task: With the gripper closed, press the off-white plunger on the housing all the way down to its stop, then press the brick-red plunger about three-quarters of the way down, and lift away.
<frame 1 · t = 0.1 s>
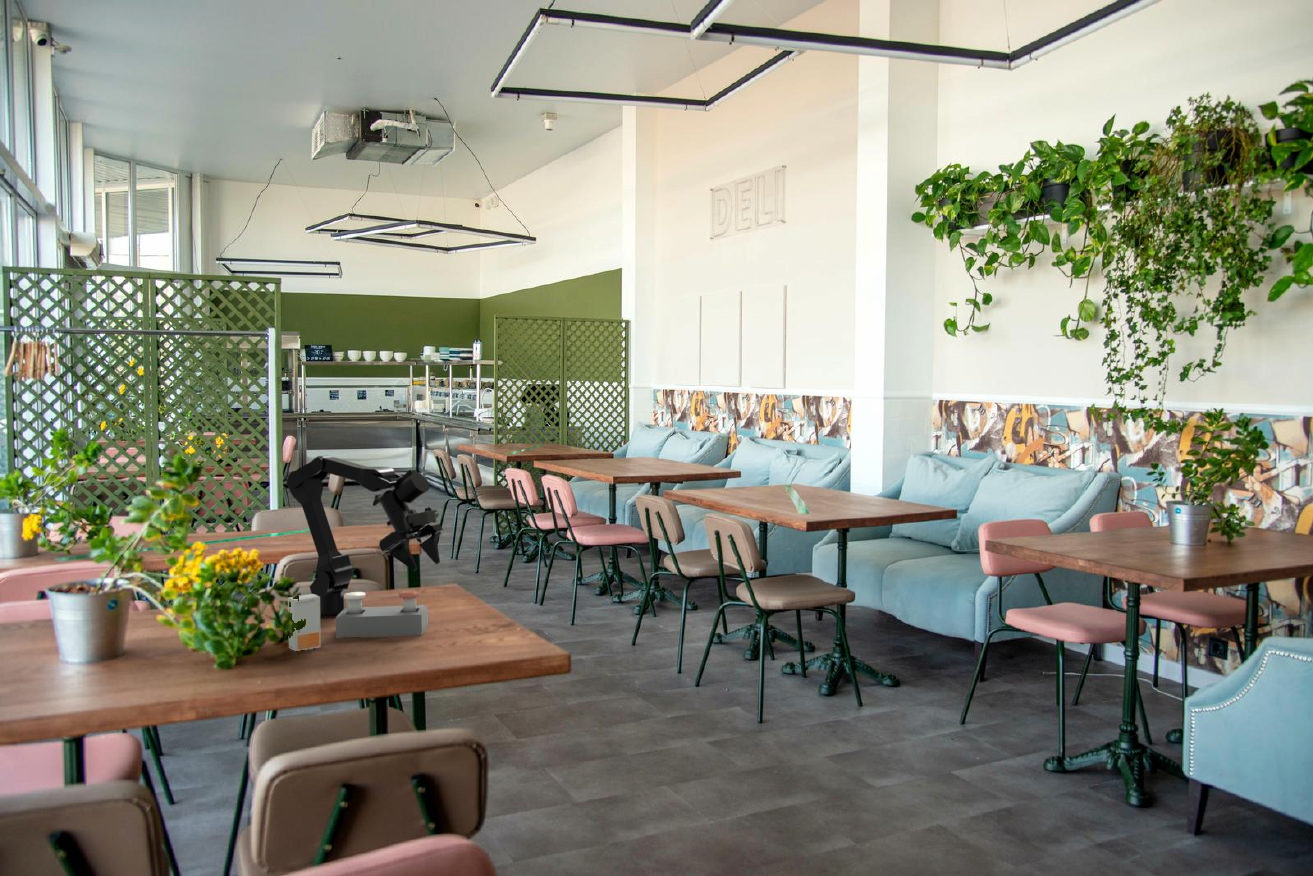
hand: (427, 566, 236), 15 cm above the table, tool tilted 30°, fingers open, 9 cm apart
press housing: (383, 631, 232), on the table
skincare box: (305, 649, 218), on the table
white plunger: (355, 604, 231), point 7 cm above the table, slide at 0.0 cm
red plunger: (409, 602, 233), point 7 cm above the table, slide at 0.0 cm
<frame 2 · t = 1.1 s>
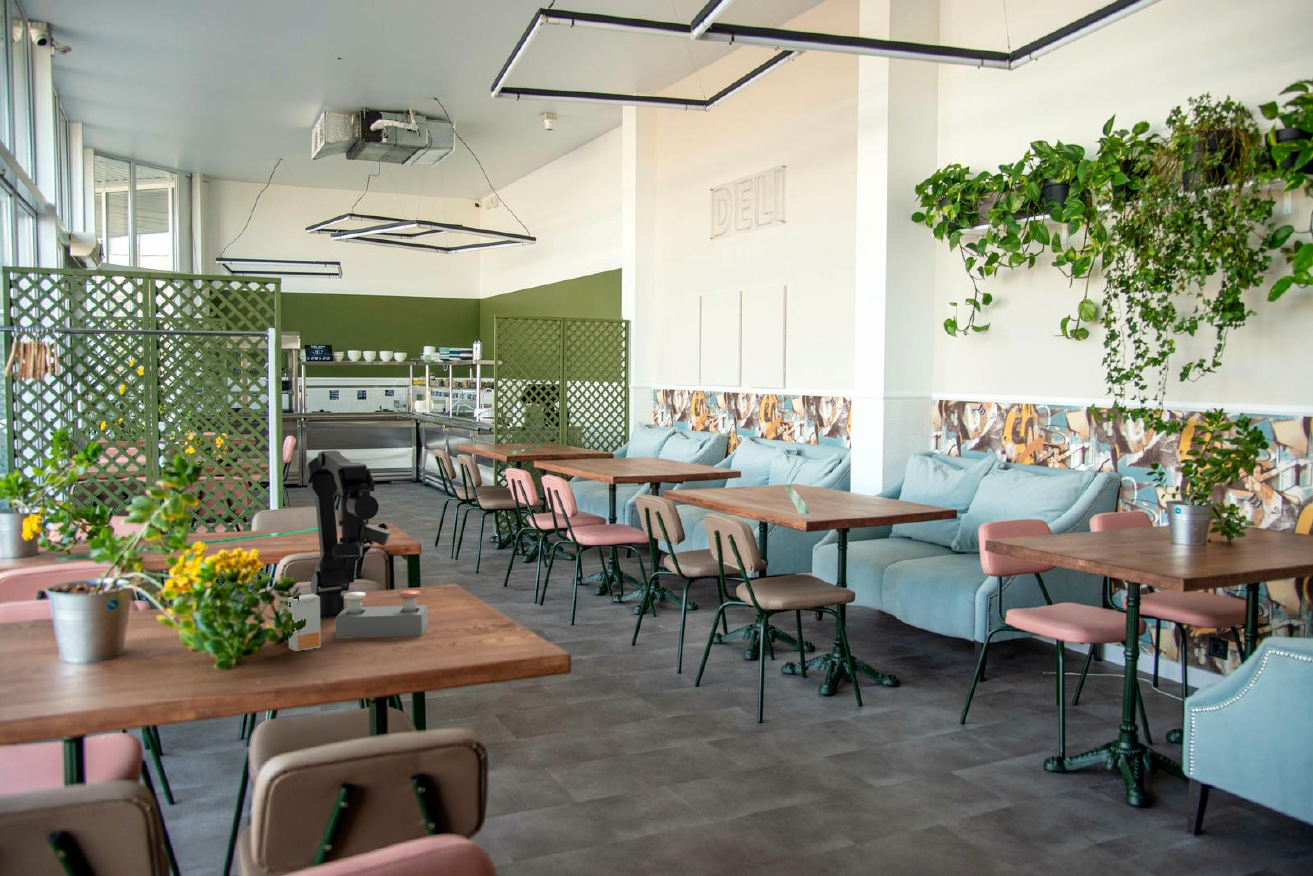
hand: (355, 579, 231), 13 cm above the table, tool pointing down, fingers open, 8 cm apart
nothing on the table moved.
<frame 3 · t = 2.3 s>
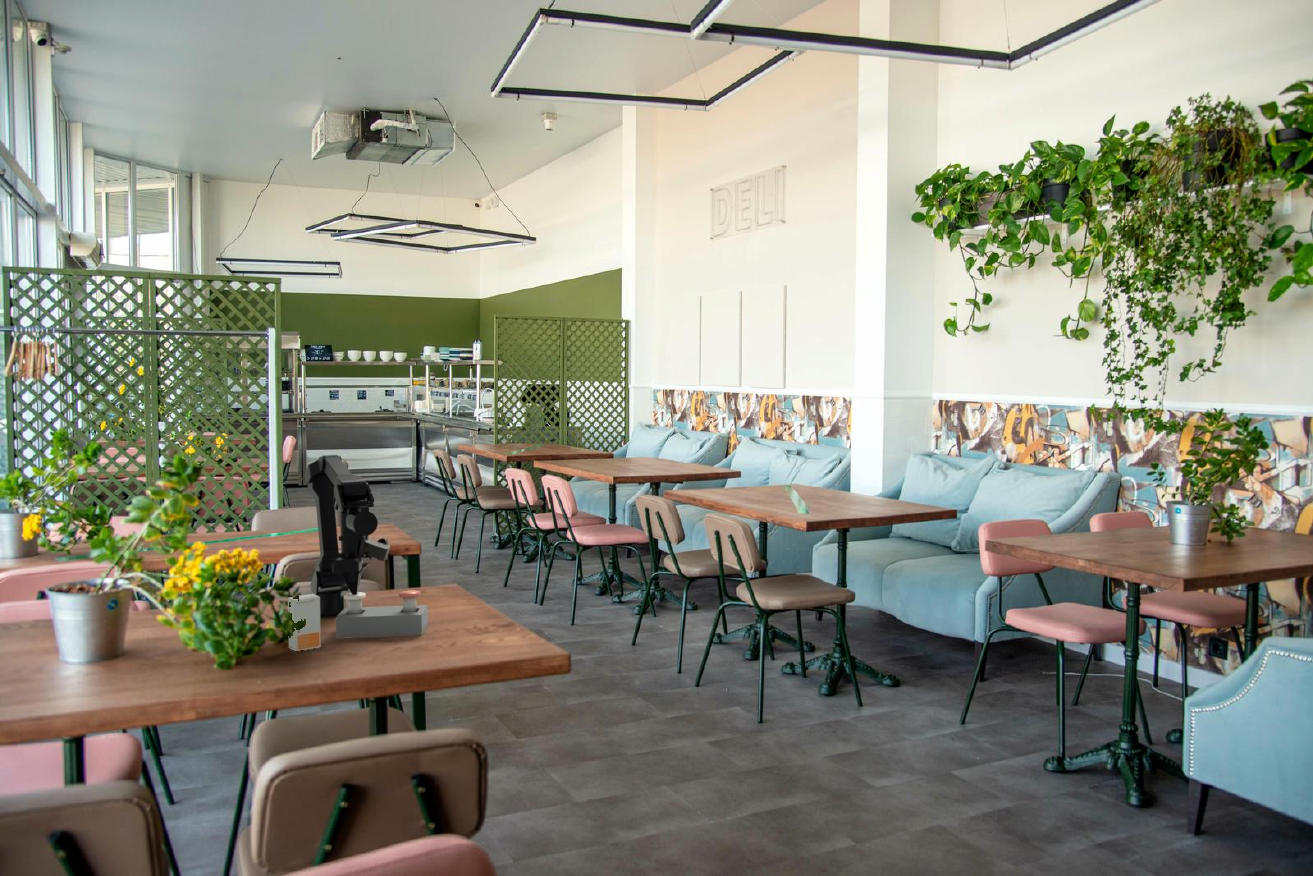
hand: (354, 594, 231), 9 cm above the table, tool pointing down, fingers closed, pressing on white plunger
white plunger: (355, 604, 231), point 7 cm above the table, slide at 0.1 cm, touching gripper
everything else where it was.
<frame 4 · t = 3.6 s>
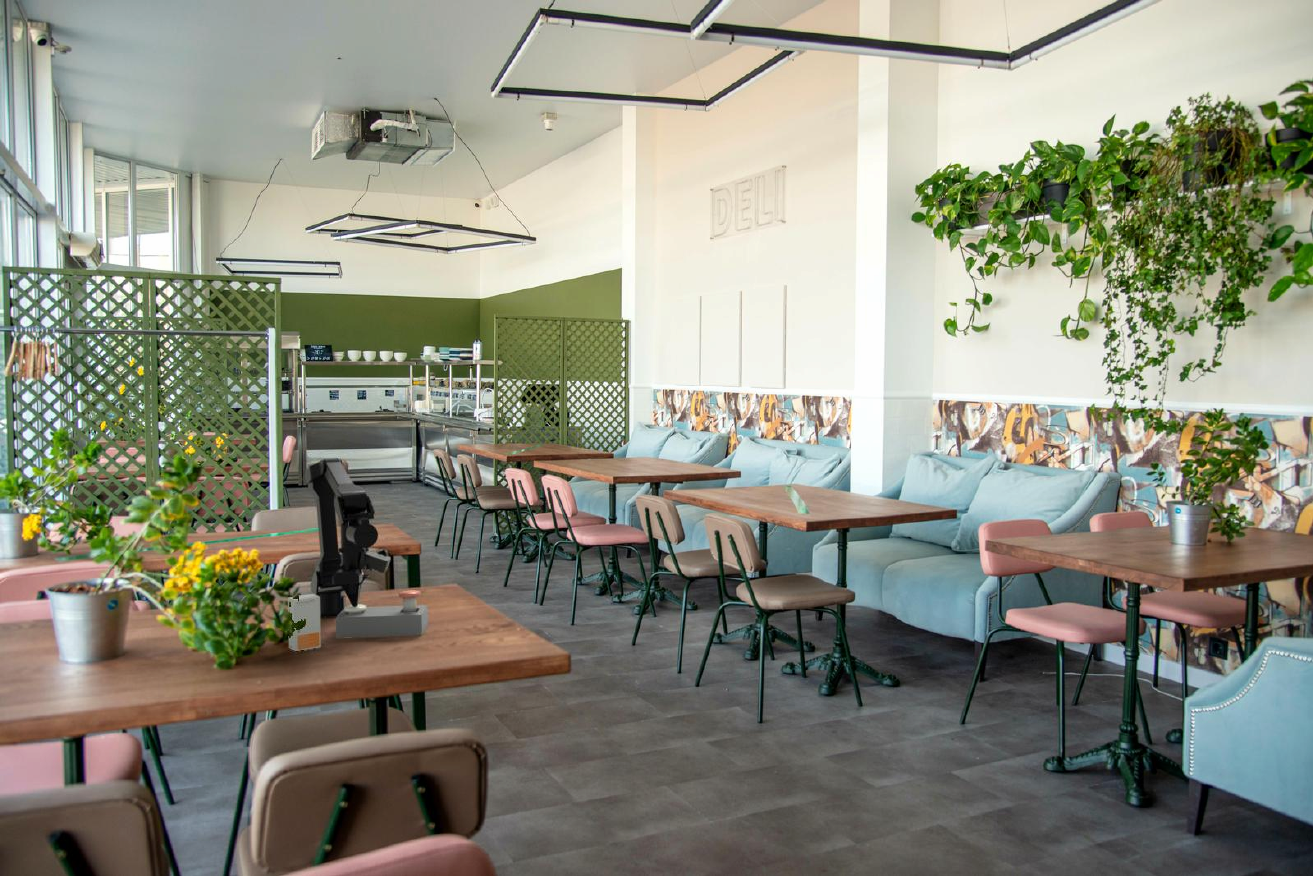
hand: (355, 606, 231), 6 cm above the table, tool pointing down, fingers closed
white plunger: (355, 617, 231), point 4 cm above the table, slide at 3.1 cm
everything else where it was.
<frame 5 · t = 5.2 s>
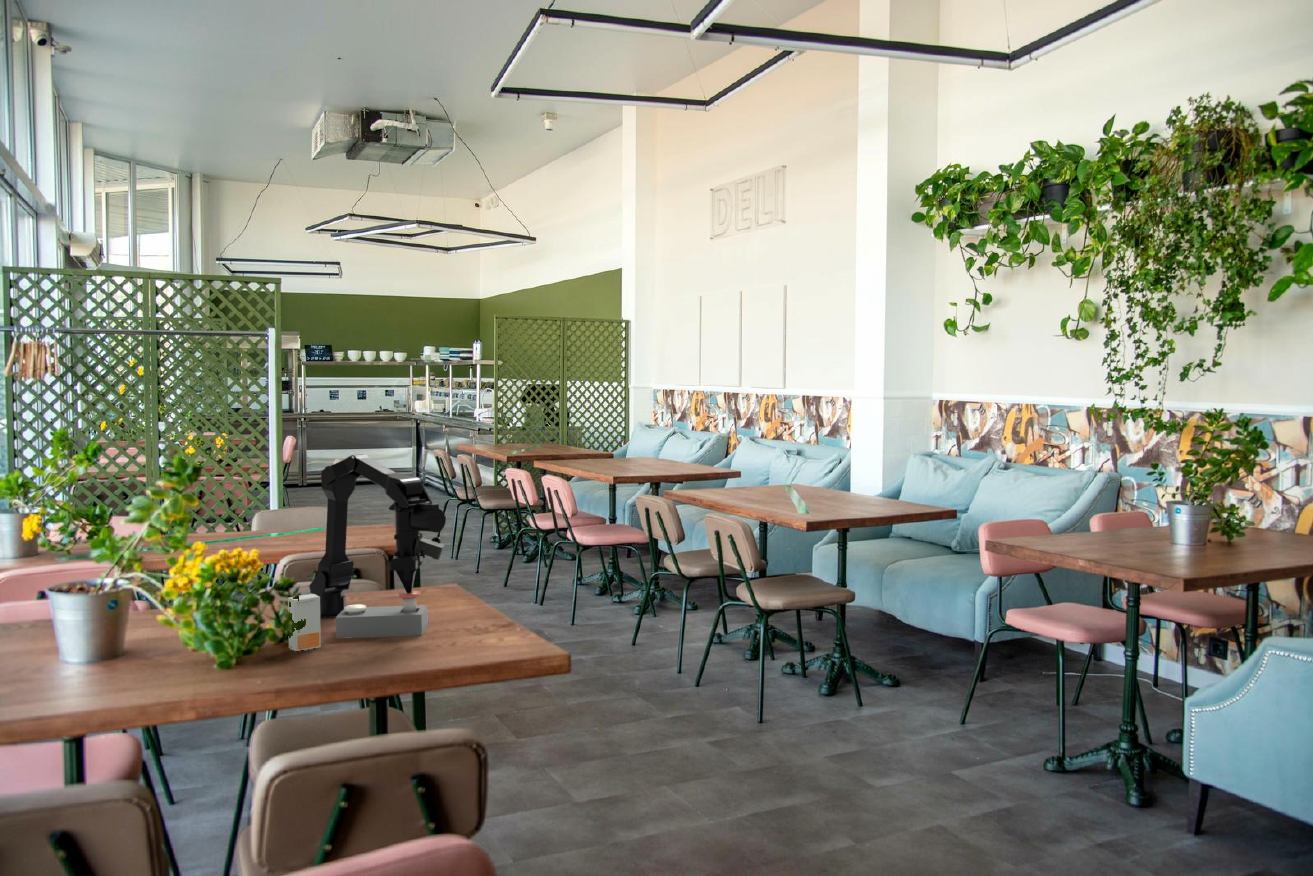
hand: (409, 592, 232), 9 cm above the table, tool pointing down, fingers closed, pressing on red plunger
red plunger: (409, 603, 233), point 7 cm above the table, slide at 0.1 cm, touching gripper
everything else where it was.
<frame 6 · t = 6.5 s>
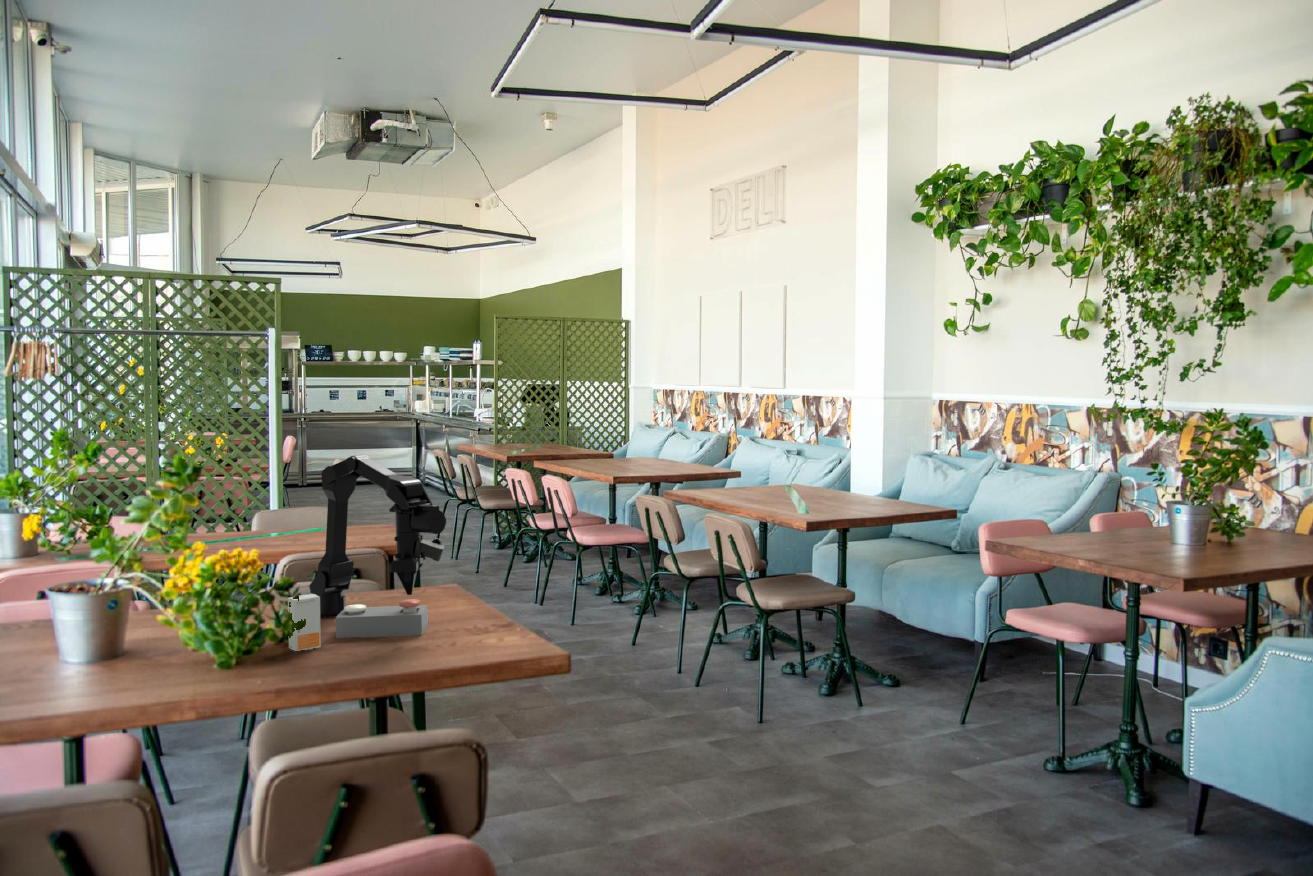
hand: (409, 594, 232), 9 cm above the table, tool pointing down, fingers closed
red plunger: (409, 611, 233), point 5 cm above the table, slide at 2.3 cm
everything else where it was.
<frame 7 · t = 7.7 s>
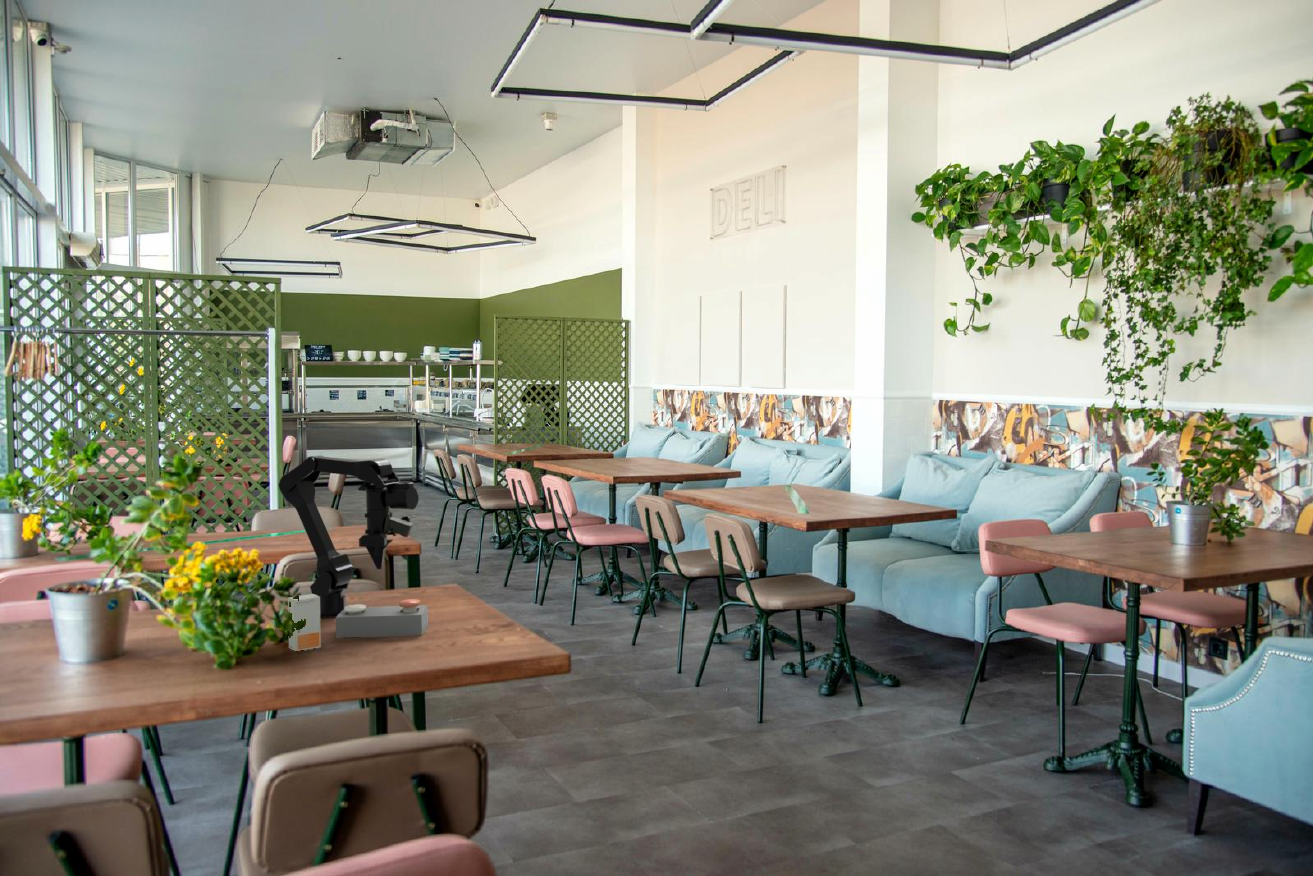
hand: (379, 568, 244), 13 cm above the table, tool pointing down, fingers closed
nothing on the table moved.
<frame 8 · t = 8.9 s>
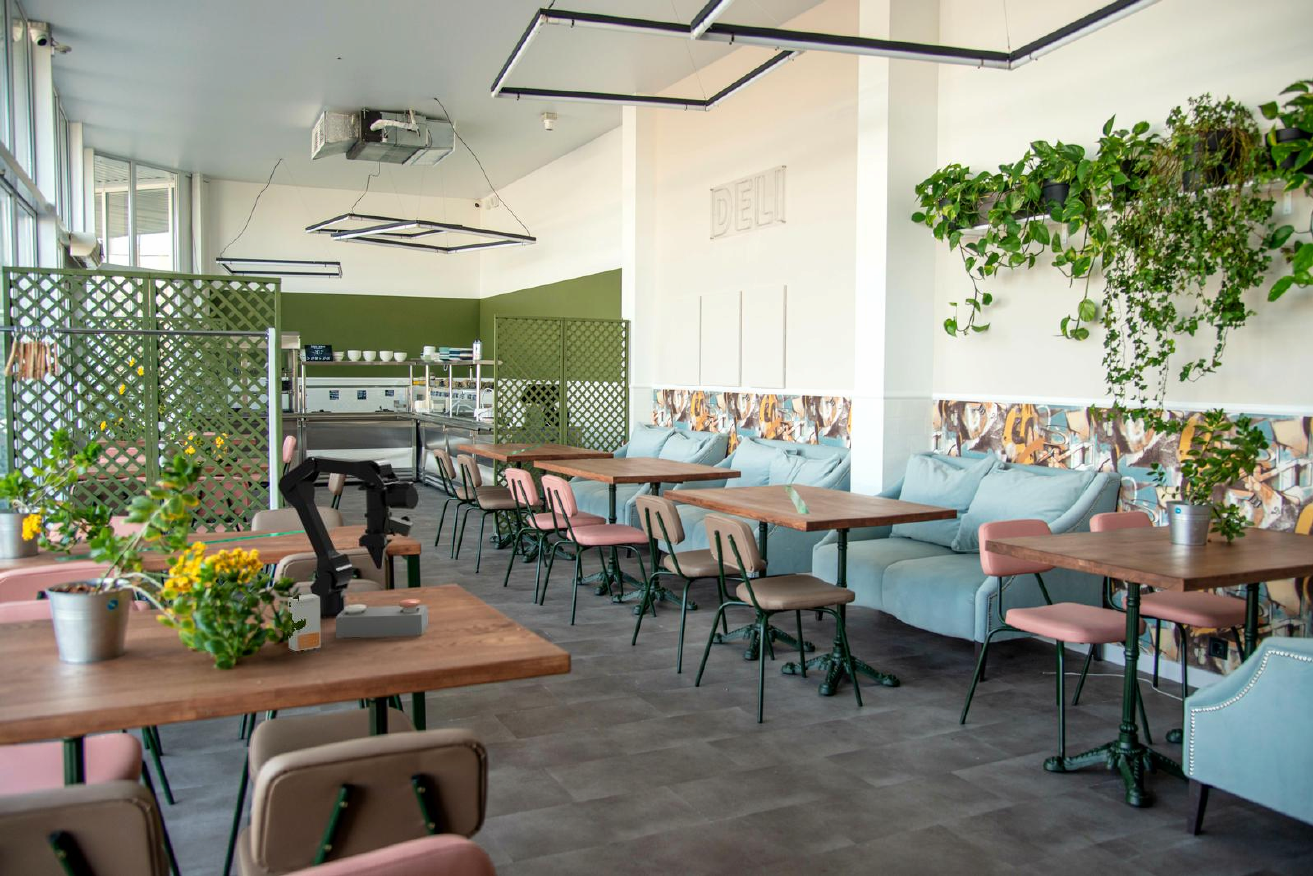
hand: (379, 568, 244), 13 cm above the table, tool pointing down, fingers closed
nothing on the table moved.
at the end: white plunger slide at 3.1 cm; red plunger slide at 2.3 cm; skincare box moved 0.2 cm from its start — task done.
